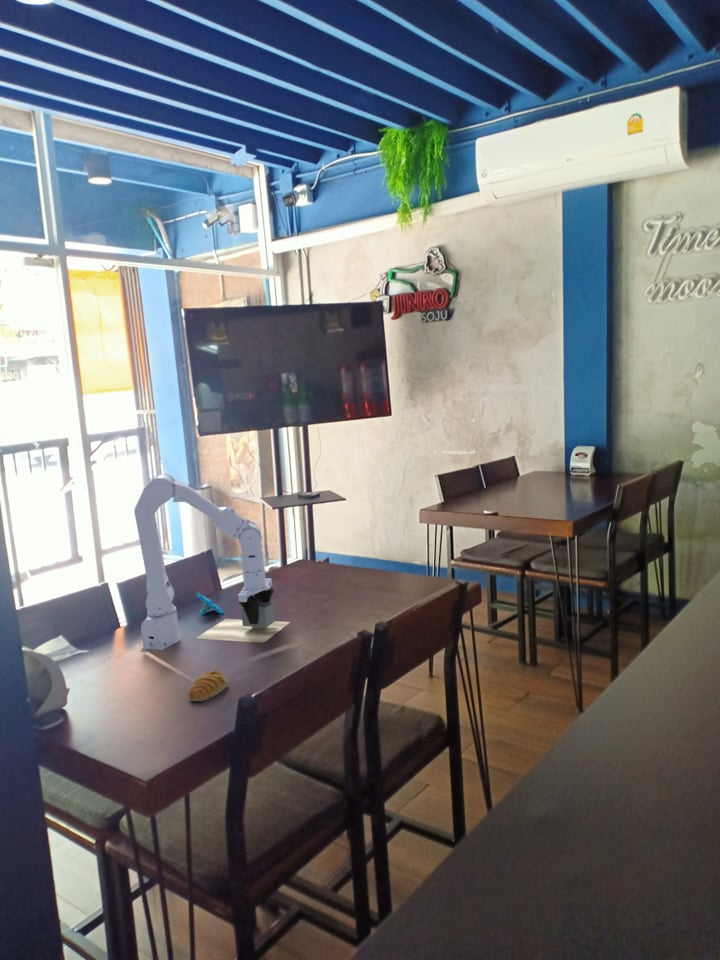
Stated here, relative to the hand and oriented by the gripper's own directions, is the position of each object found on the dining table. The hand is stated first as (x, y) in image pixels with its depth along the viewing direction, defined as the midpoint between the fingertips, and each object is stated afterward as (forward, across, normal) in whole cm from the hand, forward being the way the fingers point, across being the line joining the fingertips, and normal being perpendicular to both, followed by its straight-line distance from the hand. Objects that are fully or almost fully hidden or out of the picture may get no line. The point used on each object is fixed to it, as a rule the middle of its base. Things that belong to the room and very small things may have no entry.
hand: (258, 620), depth 194 cm
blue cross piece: (+4, +11, +22) cm, 24 cm away
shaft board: (+3, -2, +4) cm, 5 cm away
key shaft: (+3, 0, 0) cm, 3 cm away
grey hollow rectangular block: (+1, 0, 0) cm, 1 cm away
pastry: (+4, -36, -7) cm, 36 cm away
